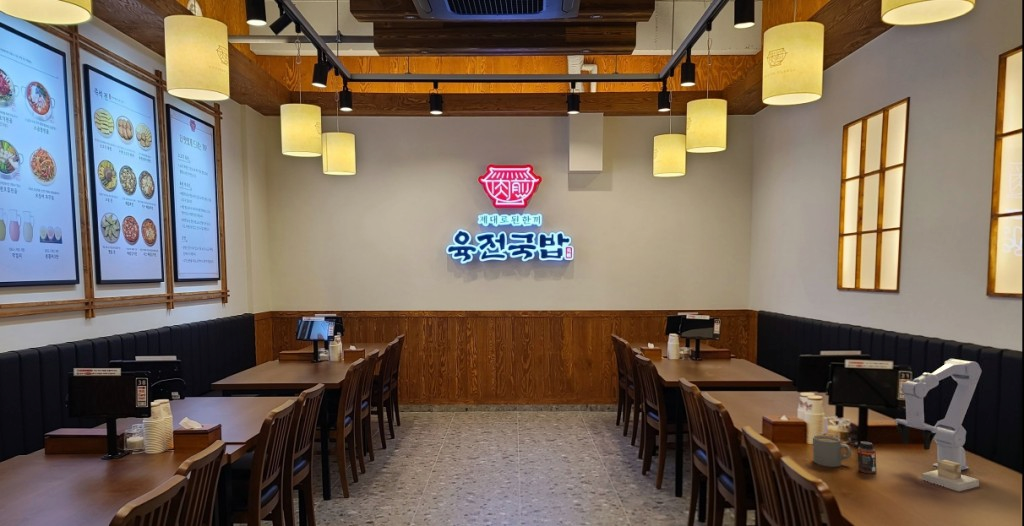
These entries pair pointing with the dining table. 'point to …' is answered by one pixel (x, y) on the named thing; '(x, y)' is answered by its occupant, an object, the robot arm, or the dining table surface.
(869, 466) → the supplement bottle
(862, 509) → the dining table surface
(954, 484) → the beige block
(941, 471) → the maple cube
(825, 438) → the coffee mug
